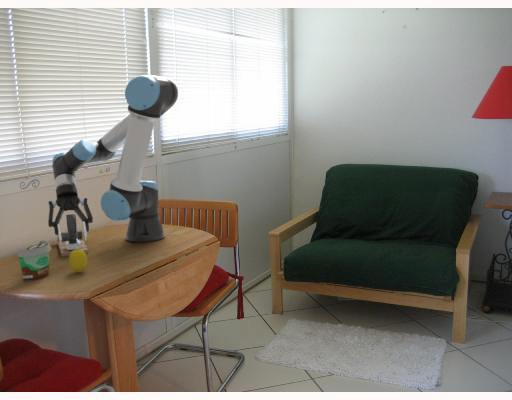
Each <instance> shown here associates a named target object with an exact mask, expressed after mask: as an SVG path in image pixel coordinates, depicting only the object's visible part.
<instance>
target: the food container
mask: <svg viewBox="0 0 512 400" xmlns="http://www.w3.org/2000/svg"><path fill="white" fill-rule="evenodd" d="M51 250H52V248H51V245H50V243H49V242H48V241H45V240H39V243H38V244H36V245H31V246H29V247H27V248H25V249H18V251H17V258H19V263H20V268H21V274H22V280H23V281H24V282H25V281H29V282H30V281H36V280H41V279H44V278H46V277H48V276H49V275H50V251H51Z"/></svg>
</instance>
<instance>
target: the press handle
mask: <svg viewBox="0 0 512 400" xmlns="http://www.w3.org/2000/svg"><path fill="white" fill-rule="evenodd" d="M76 215H77V214H76V213H74V214H73V213H72V214H67V215H66V216H65V217H66V230H67V231H66V232H68V241H65V243H66V249H67V250H72V249H76V248H78V249H80V248H81V242H80V240H78V238H77V231H78V228H77V218H76V217H77V216H76Z"/></svg>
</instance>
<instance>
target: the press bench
mask: <svg viewBox="0 0 512 400" xmlns="http://www.w3.org/2000/svg"><path fill="white" fill-rule="evenodd" d="M56 236H57V244H58V245H57V246H58V248H59V253H60V257H62V258H65V257H69V256H70V254H71V252H72V251H74V250H76V249H72V250H67V249H66V243H65V241H68V231H61V238H62V243H59V235H56ZM83 237H84V236H83V229H82V230H81V229H80V230H77V238H78V240H80V242H81V248H80V250H83V251H84V252H85V253H86V255H88V254H89V251H88V247H87V245H86V244H85V240H84V238H83Z"/></svg>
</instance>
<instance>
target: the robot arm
mask: <svg viewBox="0 0 512 400" xmlns="http://www.w3.org/2000/svg"><path fill="white" fill-rule="evenodd" d="M124 97H125V100H126V103H127V104H128V106H127V111H128V113H127V114H126V116H124V117H123V118H122V119H121V120H120V121H119V122H117V124H115V125H114V126H113V127H112V128H111V129H110V130H109V131H107V132H106V133H105V135H103V136H101V138H100V139H98V140H97V141H96V142H91V141H90V140H87V139H84V138H83V139H81V140H79V141H78V142H76V143H75V144H74V145H73V146H72V147H71V148H70V149H69V150H68V151H67V152H60V153H59V152H58V154H57V153H56V154H55V155H54V156H53V158H52V171H53V179H54V187H55V195H56V200H55V201H52V200H49V201H48V208H49V213H48V219H47V220H48V221H47V224H48V227H49V228H51V227H52V228H53V230H54V235H56V236H57V235H59V243H62V238H61V232H62V231H61V224H60V222H61V219H62V217H63V215H64V213H65V212H69V211H74V214H76V215H77V216H78V218H79V219H80V220H81V222H82V233H83V237H84V238H83V239H84V242H85V241H88V232H89V231H90V226H89V224H92V223H93V222H94V221H93V214H92V212H91V209H90V207H89V204H88V198H87V197H85V198H83V199H82V198H80V197H79V195H78V189H77V182H76V176H75V173H77V171H79V169H81V168H82V167H83V166H84V165H87V164H92V163H97V162H98V163H100V162H107V161H109V160H112V159H113V158H114V157H115V156H116V152H117V151H118V150H119V149H120V148H121V147H123V148H122V152H121V157H120V161H119V165H118V169H117V174H116V177H114V178H113V179H111V181H110V185H109V188H108V190H106V191H105V192H104V193H102V195H101V198H100V207H101V210H102V211H103V212H104V215H105V216H106V217H107V218H109V219H110V220H111V221H114V222H115V221H116V222H118V221H125V220H128V219H129V220H128V224H127V229H126V232H125V238H126V241H128V242H134V243H135V242H136V243H144V242H145V243H147V242H154V241H158V240H161V239H163V238H164V237H165V235H166V234H165V229H164V228H163V224H162V221H161V219H160V211H159V210H160V207H159V206H160V205H159V189H158V183H157V182H156V181H154V180H142V176H143V171H144V166H145V163H146V159H147V154H148V150H149V147H150V146H149V145H150V143H151V139H152V135H153V129H154V126H155V122H156V121H158V120H159V119H161V116H163V115H164V114H166V112H168V111H169V110H170V109H171V108H172V107H173V106H174V105H175V104H176V102H177V100H178V97H179V90H178V86H177V85H176V83H175V82H174V81H173V80H172V79H171V78H168V76H162V75H161V76H159V75H152V74H151V75H149V74H141V75H137V76H134V77H133V78H131V79H130V80H129V81H128V83H127V84H126V87H125V90H124ZM79 204H81V206H83V210H84V212H85V214H86V215H85V214H84V212H83V211H82V210H81V208H80V207H79ZM56 206H57V207H58V208H59V209H58V212H57V213H56V215H55V220H54V212H55V211H54V208H56Z"/></svg>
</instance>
